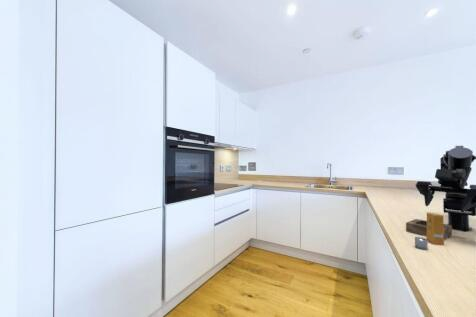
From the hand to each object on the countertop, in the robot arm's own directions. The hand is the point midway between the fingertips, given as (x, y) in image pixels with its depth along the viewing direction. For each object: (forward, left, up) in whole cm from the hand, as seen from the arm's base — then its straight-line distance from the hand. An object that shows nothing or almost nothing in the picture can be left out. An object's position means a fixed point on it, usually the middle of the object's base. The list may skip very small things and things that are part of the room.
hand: (442, 208), depth 69 cm
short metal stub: (+15, -2, -11) cm, 19 cm away
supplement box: (+5, -1, -12) cm, 13 cm away
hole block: (-5, -5, -11) cm, 14 cm away
